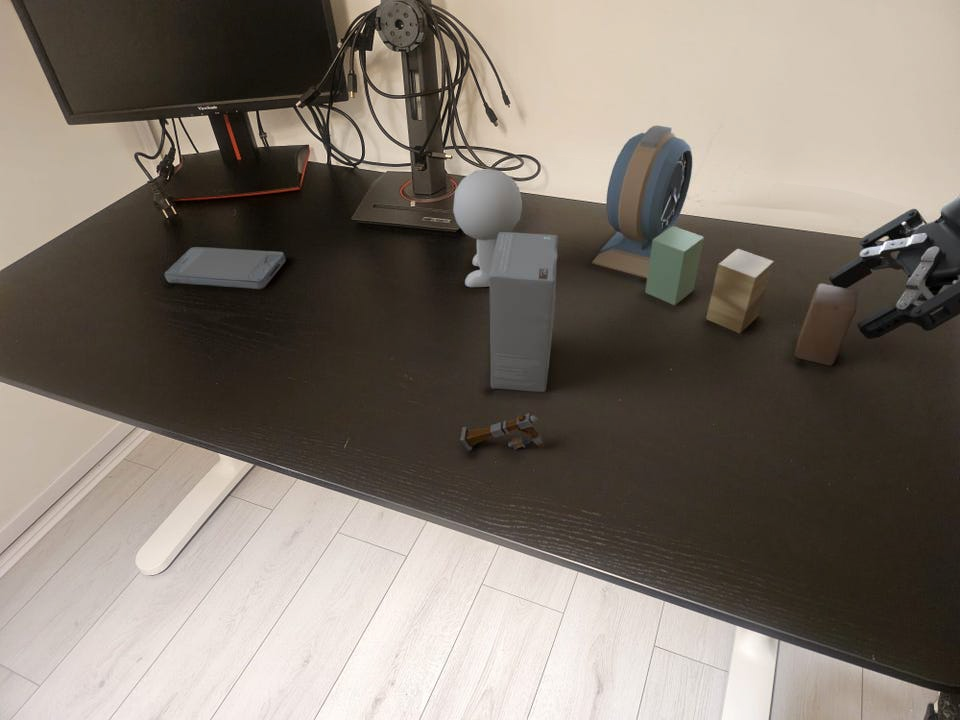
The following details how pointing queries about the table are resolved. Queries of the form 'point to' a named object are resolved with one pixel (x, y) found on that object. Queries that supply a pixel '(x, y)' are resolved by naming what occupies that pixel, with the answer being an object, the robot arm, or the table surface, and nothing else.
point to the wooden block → (826, 324)
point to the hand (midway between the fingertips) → (847, 307)
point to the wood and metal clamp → (501, 428)
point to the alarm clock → (644, 197)
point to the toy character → (486, 215)
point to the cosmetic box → (522, 310)
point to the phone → (226, 267)
